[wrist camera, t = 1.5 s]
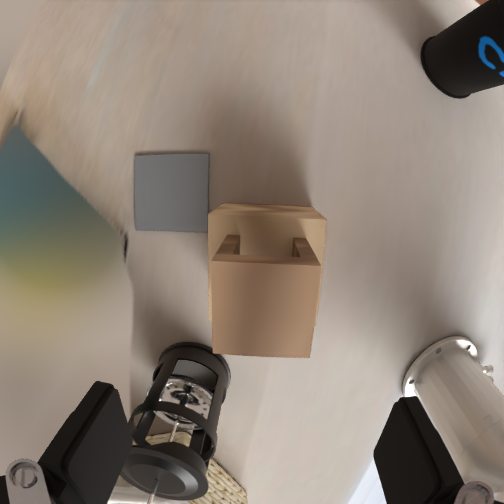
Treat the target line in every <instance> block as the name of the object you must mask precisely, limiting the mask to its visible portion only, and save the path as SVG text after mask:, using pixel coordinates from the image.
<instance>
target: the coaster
mask: <svg viewBox="0 0 504 504" xmlns="http://www.w3.org/2000/svg"><path fill="white" fill-rule="evenodd" d="M208 190H209V154H163V155H141V156H135V227H136V230H144V231H177V232H206V233H207V232H208Z"/></svg>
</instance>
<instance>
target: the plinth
mask: <svg viewBox="0 0 504 504" xmlns="http://www.w3.org/2000/svg"><path fill="white" fill-rule="evenodd" d="M326 227H327V219H326V218H324V217H323V216H322V215H321V214H320V213H319V212H317V211H316V210H315V209H314V208H313V207H301V206H282V205H260V204H233V203H223V204H221V205H220V206H219V207H217V208H216V209H215V210H213V211H212V212H211V213H209V214H208V299H209V321H211V322H212V293H211V260H212V259H213V257H214V256H215V254H216V252H217V251H218V249H219V247H220V246H221V244H222V242H223V241H224V239H225V238H226V236H227V235H240V255H256V256H278V257H292V248H293V237H294V238H306V239H307V240H308V242H309V244H310V246H311V248H312V250H313V251H314V253H315V255H316V257H317V259H318V261H319V263H320V264H321V274H320V283H319V292H318V301H317V309H316V317H315V324H314V326H316V320H317V313H318V305H319V297H320V288H321V279H322V270H323V260H324V250H325V239H326Z"/></svg>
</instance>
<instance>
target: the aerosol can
mask: <svg viewBox="0 0 504 504" xmlns="http://www.w3.org/2000/svg"><path fill="white" fill-rule="evenodd" d="M421 60H422V64H423V67H424V69H425V72H426V74H427V75H428V77H429V79H430V80H431V81H432V83H433V84H434V85H435V86H436V87H437V88H438V89H439V90H440V91H442V92H443V93H444V94H446V95H448V96H450V97H453V98H459V99H461V98H465V97H468V96H469V95H470V94H471V93H475V92H478V91H482V90H485V89H489V88H492V87H496V86H500V85H503V84H504V0H489V1H487V2H485V3H484V4H482V5H481V6H479V7H478V8H476V9H475V10H473V11H472V12H470V13H469V14H467V15H466V16H464V17H463V18H461V19H460V20H458V21H457V22H455V23H454V24H452V25H451V26H449V27H448V28H447V29H445V30H444V31H442V32H441V33H439V34H438V35H437V36H433V37H430V38H429V39H427V40H426V41H425V42H424V44H423V47H422V50H421Z"/></svg>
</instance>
